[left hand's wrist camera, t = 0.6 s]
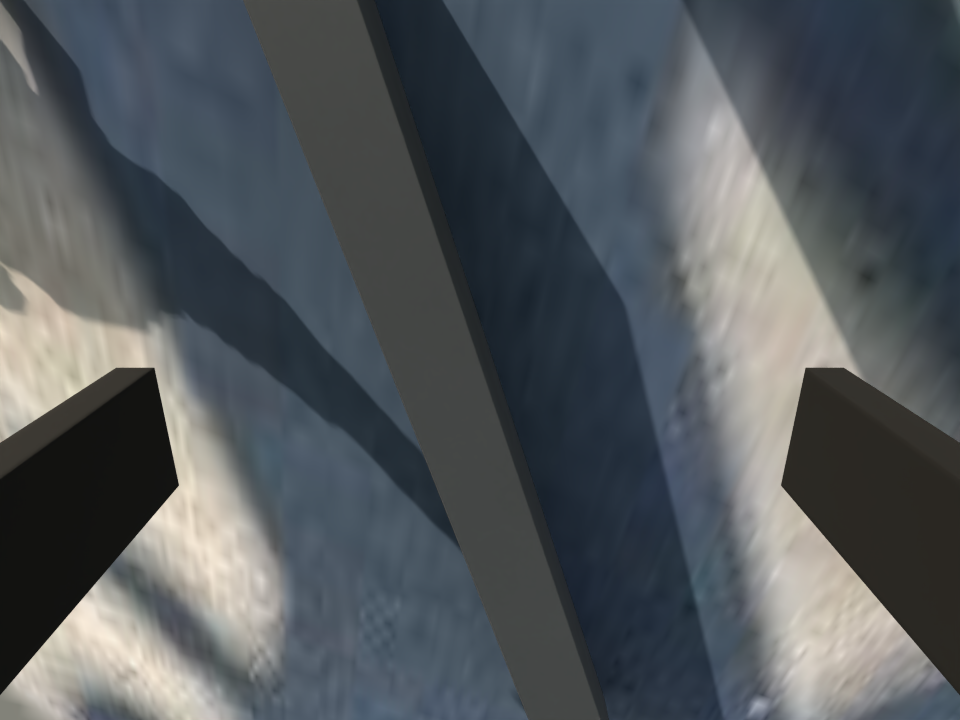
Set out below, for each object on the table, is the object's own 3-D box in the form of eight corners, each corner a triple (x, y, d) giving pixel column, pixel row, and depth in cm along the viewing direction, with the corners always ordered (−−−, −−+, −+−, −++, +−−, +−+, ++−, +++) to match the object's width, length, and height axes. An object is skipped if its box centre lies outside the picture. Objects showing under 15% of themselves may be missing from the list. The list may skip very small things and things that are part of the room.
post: (202, -214, 28) (112, -328, 21) (292, -252, 27) (229, -381, 20) (550, 709, 48) (561, 803, 41) (603, 696, 48) (624, 790, 41)
